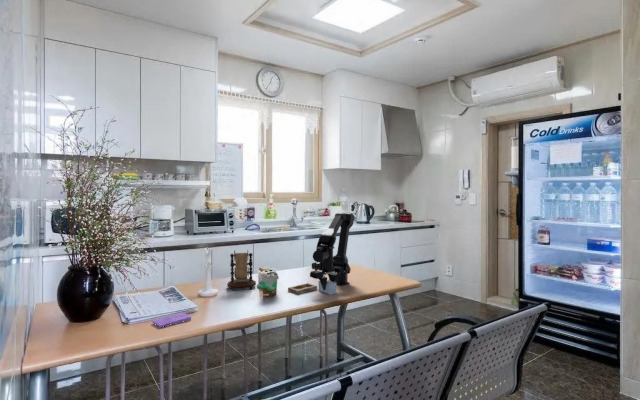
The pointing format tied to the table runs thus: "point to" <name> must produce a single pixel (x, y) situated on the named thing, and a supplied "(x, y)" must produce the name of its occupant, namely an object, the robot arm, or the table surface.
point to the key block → (328, 287)
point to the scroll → (241, 271)
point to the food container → (270, 284)
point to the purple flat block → (172, 319)
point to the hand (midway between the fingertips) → (327, 289)
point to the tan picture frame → (302, 288)
